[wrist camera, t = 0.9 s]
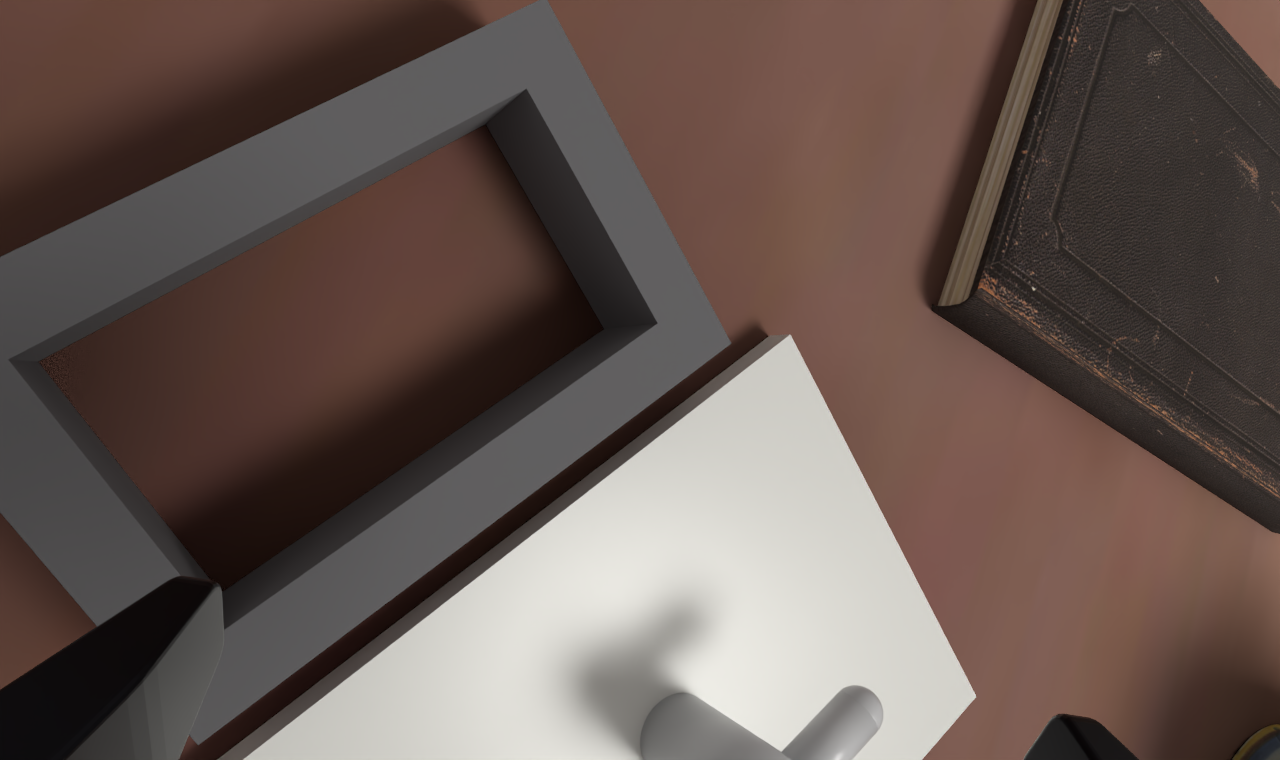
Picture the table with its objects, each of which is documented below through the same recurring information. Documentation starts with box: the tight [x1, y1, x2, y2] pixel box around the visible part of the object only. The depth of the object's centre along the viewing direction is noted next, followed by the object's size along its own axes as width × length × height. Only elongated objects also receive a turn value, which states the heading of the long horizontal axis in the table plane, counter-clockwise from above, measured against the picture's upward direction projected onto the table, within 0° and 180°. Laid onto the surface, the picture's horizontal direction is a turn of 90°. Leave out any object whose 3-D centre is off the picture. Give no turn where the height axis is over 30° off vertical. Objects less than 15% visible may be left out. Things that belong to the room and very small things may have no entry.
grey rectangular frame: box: [0, 0, 731, 745], centre depth 19 cm, size 14×9×3 cm, turn 123°
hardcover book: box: [932, 0, 1280, 534], centre depth 34 cm, size 16×23×2 cm
